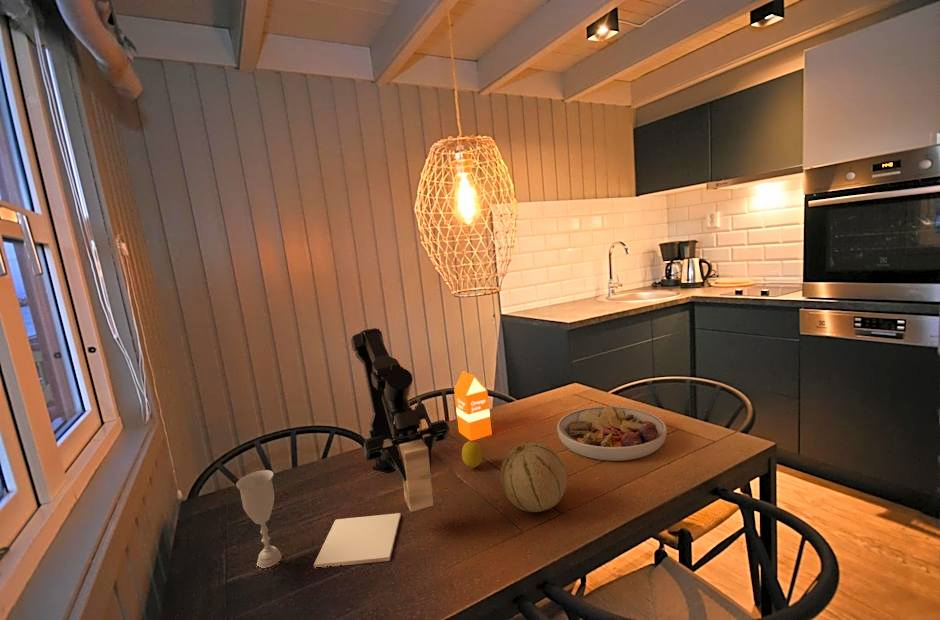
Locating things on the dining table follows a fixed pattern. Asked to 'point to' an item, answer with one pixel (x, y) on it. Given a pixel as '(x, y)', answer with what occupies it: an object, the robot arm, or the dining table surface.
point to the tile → (359, 540)
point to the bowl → (612, 433)
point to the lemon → (472, 454)
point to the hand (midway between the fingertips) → (417, 476)
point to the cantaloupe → (533, 477)
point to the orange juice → (472, 407)
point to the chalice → (260, 509)
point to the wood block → (416, 475)
